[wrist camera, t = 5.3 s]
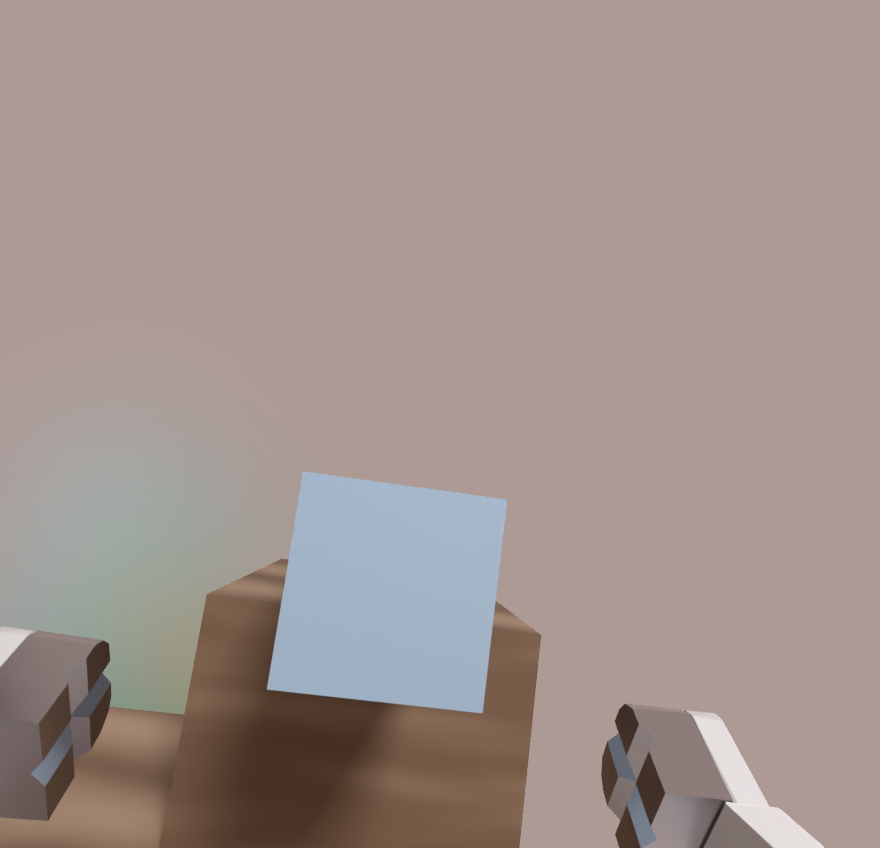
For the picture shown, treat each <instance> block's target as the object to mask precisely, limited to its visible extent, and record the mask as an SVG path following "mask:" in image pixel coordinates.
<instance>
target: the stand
mask: <svg viewBox="0 0 880 848" xmlns="http://www.w3.org/2000/svg"><path fill="white" fill-rule="evenodd" d="M287 566H288V560H286V559H281V560H279V561H276V562H274V563H272V564H270V565H268V566H266V567H264V568H262V569H259V570H258V571H255V572H253V573H251V574H249V575H247V576H245V577H243V578H241V579H239V580H236V581H234V582H232V583H230V584H228V585H226V586H224V587H221V588H219V589H217V590H215V591H213V592H211V593H209V594H207V597H206V602H205V608H204V613H203V618H202V623H201V629H200V634H199V640H198V645H197V650H196V656H195V661H194V666H193V672H192V677H191V682H190V688H189V693H188V698H187V704H186V709H185V714H184V715H181V714H171V713H162V712H153V711H142V710H134V709H124V708H115V707H109V712H108V714H107V717H106V720H105V722H104V725H103V728H102V731H101V733H100V735H99V736H98V738H97V740H96V742H95V743H94V745H93V747H92V749H91V750H89V751H88V752H86V753H85V754H83V755H82V756H80V757H79V758H77V759H75V760H74V776H75V777H74V779H73V780H72V782H71V784H70V785H69V787H68V789H67V790H66V792H65V794H64V795H63V797H62V799H61V800H60V802H59V804H58V805H57V807H56V809H55V810H54V812H53V813H52V815H51V817H50V818H49V820H48V821H41V820H27V819H12V818H0V848H519V844H520V835H521V825H522V815H523V805H524V796H525V786H526V776H527V767H528V756H529V747H530V737H531V728H532V718H533V708H534V698H535V688H536V679H537V669H538V660H539V650H540V640H541V635H540V634H539V633H538V632H536V631H535V630H534V629H532V628H531V627H530V626H528V625H527V624H526V623H524V622H523V621H522V620H520V619H519V618H518V617H516V616H515V615H514V614H512V613H511V612H510V611H508V610H507V609H506V608H504V607H503V606H502V605H501V604H499V603H498V602H497V601H495V610H494V619H493V627H492V636H491V645H490V653H489V662H488V671H487V679H486V688H485V697H484V706H483V713H475V712H466V711H457V710H448V709H439V708H430V707H421V706H412V705H403V704H394V703H384V702H375V701H366V700H357V699H348V698H339V697H330V696H321V695H312V694H303V693H294V692H285V691H276V690H267V685H268V679H269V673H270V667H271V662H272V656H273V650H274V644H275V638H276V632H277V626H278V620H279V614H280V608H281V602H282V596H283V590H284V584H285V578H286V572H287Z"/></svg>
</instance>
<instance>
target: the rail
mask: <svg viewBox="0 0 880 848" xmlns="http://www.w3.org/2000/svg"><path fill="white" fill-rule="evenodd" d="M506 506H507V500H505V499H498V498H491V497H484V496H476V495H470V494H462V493H455V492H448V491H441V490H433V489H426V488H419V487H412V486H404V485H397V484H390V483H382V482H376V481H368V480H361V479H354V478H347V477H340V476H332V475H325V474H318V473H311V472H303V477H302V483H301V489H300V495H299V501H298V507H297V513H296V518H295V524H294V530H293V537H292V543H291V549H290V555H289V560H288V566H287V572H286V578H285V584H284V590H283V596H282V602H281V608H280V614H279V620H278V626H277V632H276V638H275V644H274V650H273V656H272V662H271V667H270V673H269V679H268V685H267V690H276V691H285V692H294V693H303V694H312V695H321V696H330V697H339V698H348V699H357V700H366V701H375V702H384V703H394V704H403V705H412V706H421V707H430V708H439V709H448V710H457V711H466V712H475V713H483V706H484V697H485V688H486V679H487V671H488V662H489V653H490V645H491V636H492V627H493V619H494V610H495V601H496V591H497V584H498V574H499V566H500V558H501V549H502V540H503V531H504V523H505V513H506Z"/></svg>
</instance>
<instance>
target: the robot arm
mask: <svg viewBox="0 0 880 848" xmlns="http://www.w3.org/2000/svg"><path fill="white" fill-rule="evenodd" d="M109 661H110V654H109V643H107V642H105V641H103V640H98V639H91V638H84V637H77V636H71V635H63V634H57V633H50V632H44V631H31V630H25V629H18V628H12V627H5V626H3V627H1V628H0V818H12V819H27V820H41V821H48V820H49V818H50V817H51V815H52V813H53V812H54V810H55V809H56V807H57V805H58V804H59V802H60V800H61V799H62V797H63V795H64V794H65V792H66V790H67V789H68V787H69V785H70V784H71V782H72V780H73V779H74V777H75V776H74V760H75V759H77V758H79V757H80V756H82V755H83V754H85V753H86V752H88V751H89V750H91V749H92V747H93V745H94V743H95V742H96V740H97V738H98V736H99V735H100V733H101V731H102V728H103V725H104V722H105V720H106V717H107V714H108V712H109V706H110V700H111V683H110V682H109V680H108V679H107V678H106V677H105V676H104V675H103V673H102V672H103V671H104V669H105V668H106V666H107V665H108V663H109ZM615 723H616V726H617V729H618V732H619V734H617V735H616V736H614V737H613V738H612V739H610V740H609V741H607V744H606V748H605V751H604V754H603V757H602V774H601V776H602V784H603V791H604V794H605V798H606V802H607V806H608V807H609V808H610V809H611V810H612V811H613V812H614V814H615V815H616V816H617V817H618V818H619V819H620V820H621V821H620V824H619V826H618V829H617V831H616V834H615V835H616V838H617V841H618V845H619V848H825V847H823V846H822V845H821V844H820V843H819V842H818V841H817V840H815V839H814V838H813V837H812V836H810V834H808V833H807V832H806V831H805V830H804V829H803V828H801V827H800V826H799V825H798V824H797V823H796V822H794V821H793V820H792V819H791V818H790V817H789V816H788V815H786V814H785V813H784V812H783V811H782V810H781V809H779V808H775V807H769V805H768V803H767V801H766V799H765V798H764V796H763V794H762V792H761V790H760V789H759V787H758V785H757V783H756V781H755V779H754V778H753V776H752V774H751V772H750V770H749V768H748V767H747V765H746V763H745V761H744V759H743V757H742V756H741V754H740V752H739V750H738V748H737V746H736V745H735V743H734V741H733V739H732V737H731V735H730V734H729V732H728V730H727V728H726V726H725V725H724V723H723V721H722V720H721V718H720V717H718V716H717V715H716V714H715V713H706V712H696V711H687V710H685V711H682V710H677V709H668V708H659V707H650V706H641V705H632V704H624V705H623V706H622V707H621V708H620V710H619V712H618V714H617V717H616V720H615Z"/></svg>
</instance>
